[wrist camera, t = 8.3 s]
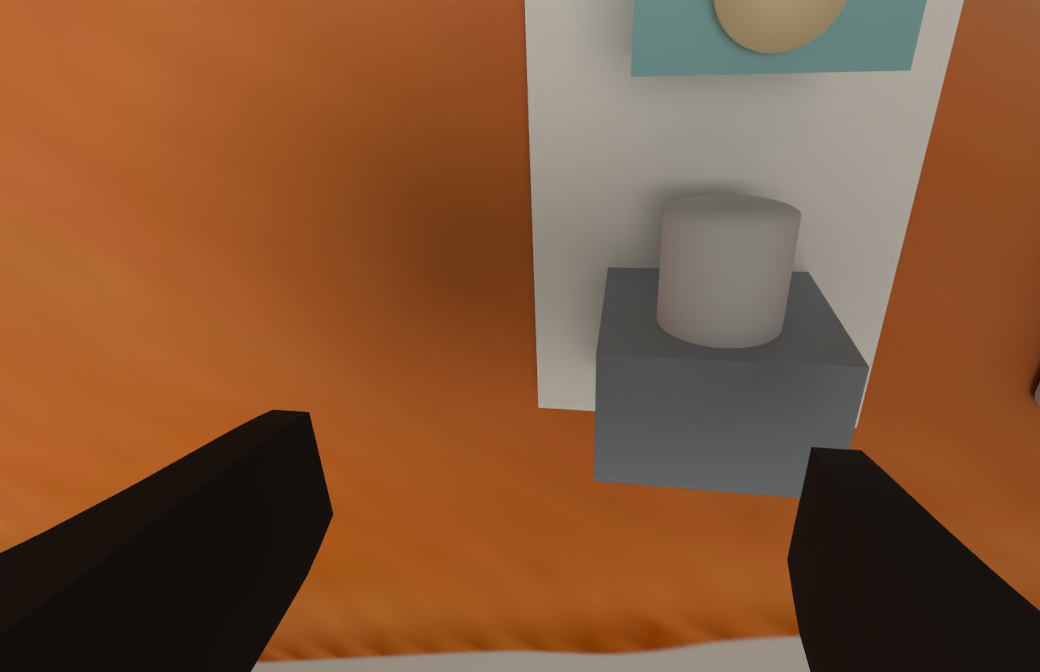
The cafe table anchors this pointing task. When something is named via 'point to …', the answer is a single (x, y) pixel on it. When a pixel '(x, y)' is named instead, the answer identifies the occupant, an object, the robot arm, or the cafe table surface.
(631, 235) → the shaft stand
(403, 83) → the cafe table surface
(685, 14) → the teal block
